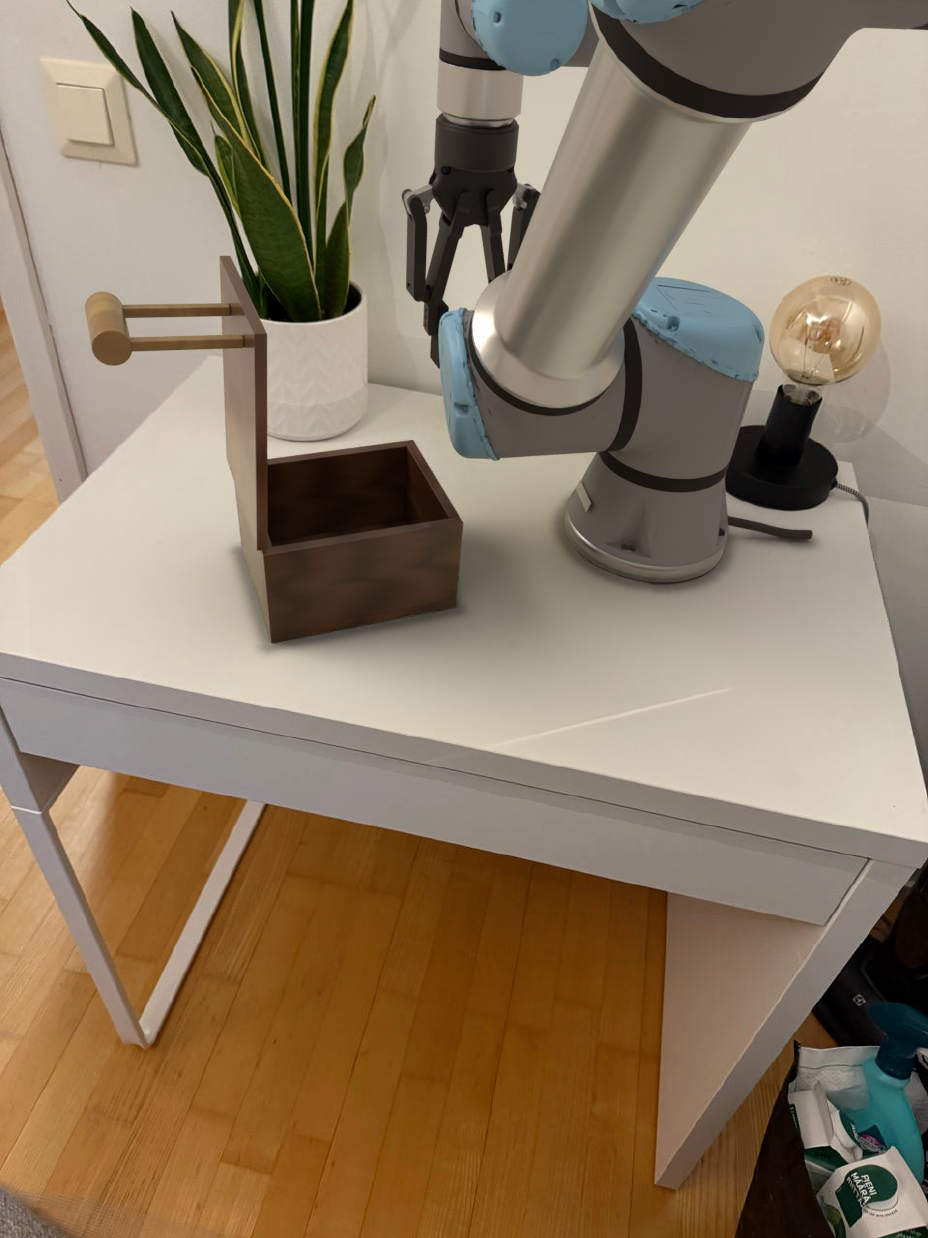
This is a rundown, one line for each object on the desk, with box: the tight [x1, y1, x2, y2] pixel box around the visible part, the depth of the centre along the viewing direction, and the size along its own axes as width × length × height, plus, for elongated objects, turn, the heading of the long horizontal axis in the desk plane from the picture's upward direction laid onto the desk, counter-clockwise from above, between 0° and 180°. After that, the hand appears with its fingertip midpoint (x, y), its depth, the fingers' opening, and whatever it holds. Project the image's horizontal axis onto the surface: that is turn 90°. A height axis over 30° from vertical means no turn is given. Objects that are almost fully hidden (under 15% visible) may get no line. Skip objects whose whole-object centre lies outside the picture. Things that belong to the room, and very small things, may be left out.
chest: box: [233, 439, 464, 644], centre depth 78 cm, size 16×13×9 cm
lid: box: [84, 255, 268, 551], centre depth 66 cm, size 17×13×10 cm
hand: (461, 359), depth 98 cm, fingers closed on block, 5 cm apart
